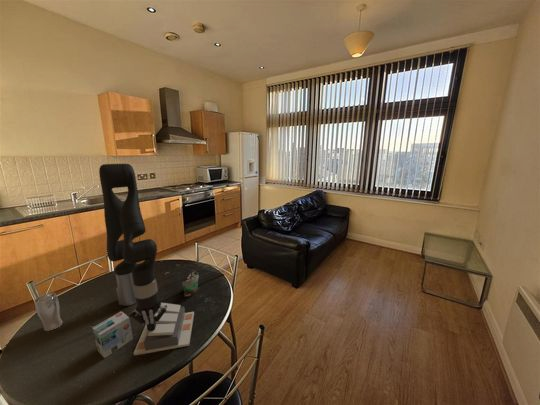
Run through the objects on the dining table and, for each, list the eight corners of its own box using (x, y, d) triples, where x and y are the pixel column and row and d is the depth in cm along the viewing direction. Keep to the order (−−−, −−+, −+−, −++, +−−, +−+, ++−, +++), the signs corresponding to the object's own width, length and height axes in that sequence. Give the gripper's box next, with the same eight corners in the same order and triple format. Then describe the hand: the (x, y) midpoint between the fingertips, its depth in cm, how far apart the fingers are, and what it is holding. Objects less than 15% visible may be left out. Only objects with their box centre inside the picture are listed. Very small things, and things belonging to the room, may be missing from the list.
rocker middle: (152, 323, 89) (152, 320, 89) (155, 315, 93) (155, 312, 93) (175, 323, 92) (176, 321, 91) (177, 316, 96) (178, 313, 95)
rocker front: (147, 335, 84) (148, 333, 83) (151, 326, 88) (151, 324, 87) (173, 334, 86) (173, 332, 86) (175, 325, 90) (175, 323, 90)
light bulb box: (104, 359, 82) (98, 335, 79) (96, 350, 86) (91, 327, 83) (134, 338, 91) (130, 316, 88) (125, 331, 94) (121, 310, 92)
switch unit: (133, 355, 83) (131, 343, 82) (148, 320, 100) (146, 309, 99) (189, 345, 88) (187, 333, 86) (194, 313, 105) (193, 303, 103)
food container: (195, 299, 114) (193, 282, 112) (183, 299, 114) (181, 282, 112) (202, 285, 126) (201, 269, 124) (192, 284, 126) (190, 269, 124)
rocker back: (156, 311, 95) (157, 309, 95) (159, 304, 99) (160, 302, 99) (178, 314, 97) (179, 311, 97) (180, 307, 101) (180, 305, 101)
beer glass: (68, 322, 99) (60, 294, 95) (48, 334, 93) (39, 304, 89) (58, 318, 101) (50, 290, 97) (38, 330, 95) (29, 300, 91)
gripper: (122, 300, 77) (129, 340, 81) (162, 295, 79) (168, 334, 84) (130, 287, 84) (137, 325, 88) (167, 283, 86) (172, 320, 91)
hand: (152, 329), depth 86 cm, fingers closed
